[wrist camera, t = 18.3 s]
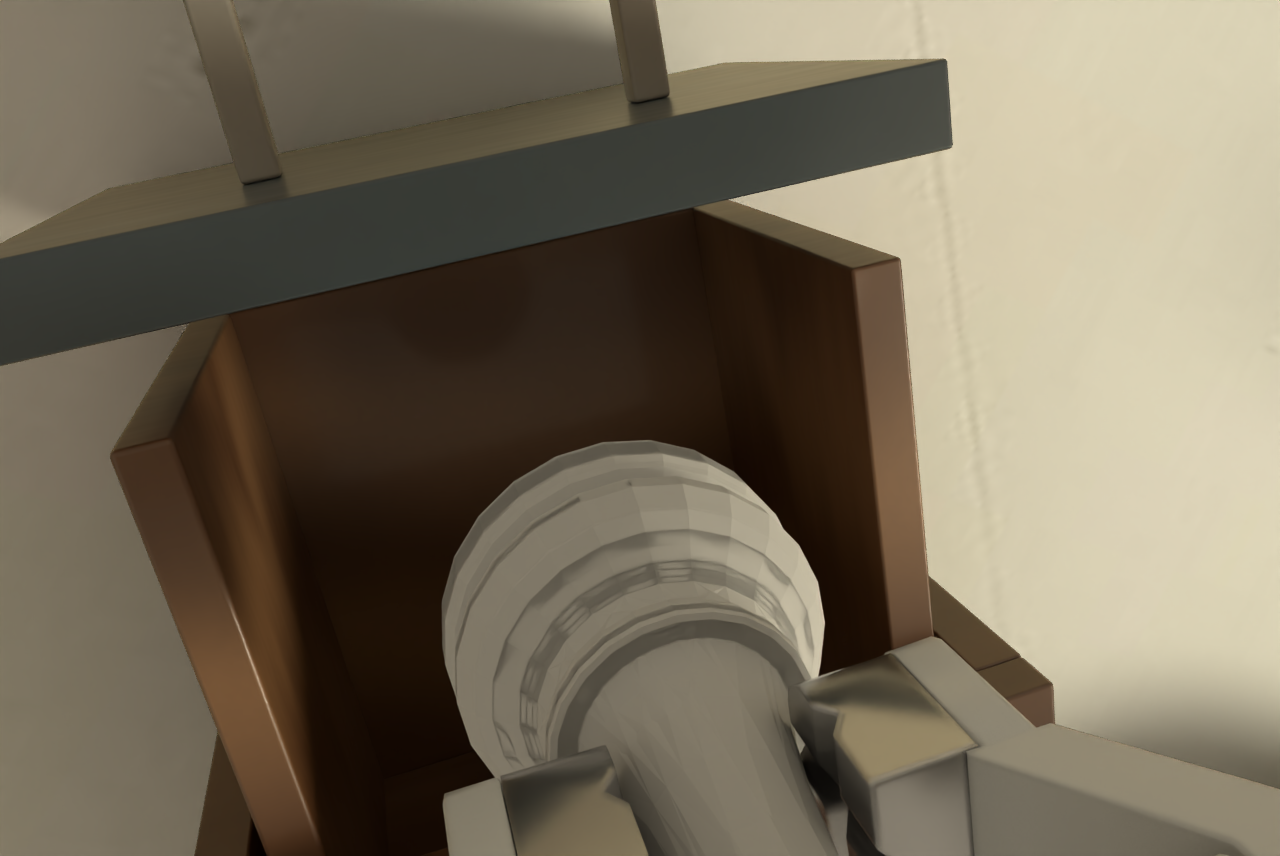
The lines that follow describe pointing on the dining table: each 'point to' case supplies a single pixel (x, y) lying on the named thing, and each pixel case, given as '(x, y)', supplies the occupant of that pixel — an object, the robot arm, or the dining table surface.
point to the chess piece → (644, 643)
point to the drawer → (480, 380)
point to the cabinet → (237, 852)
